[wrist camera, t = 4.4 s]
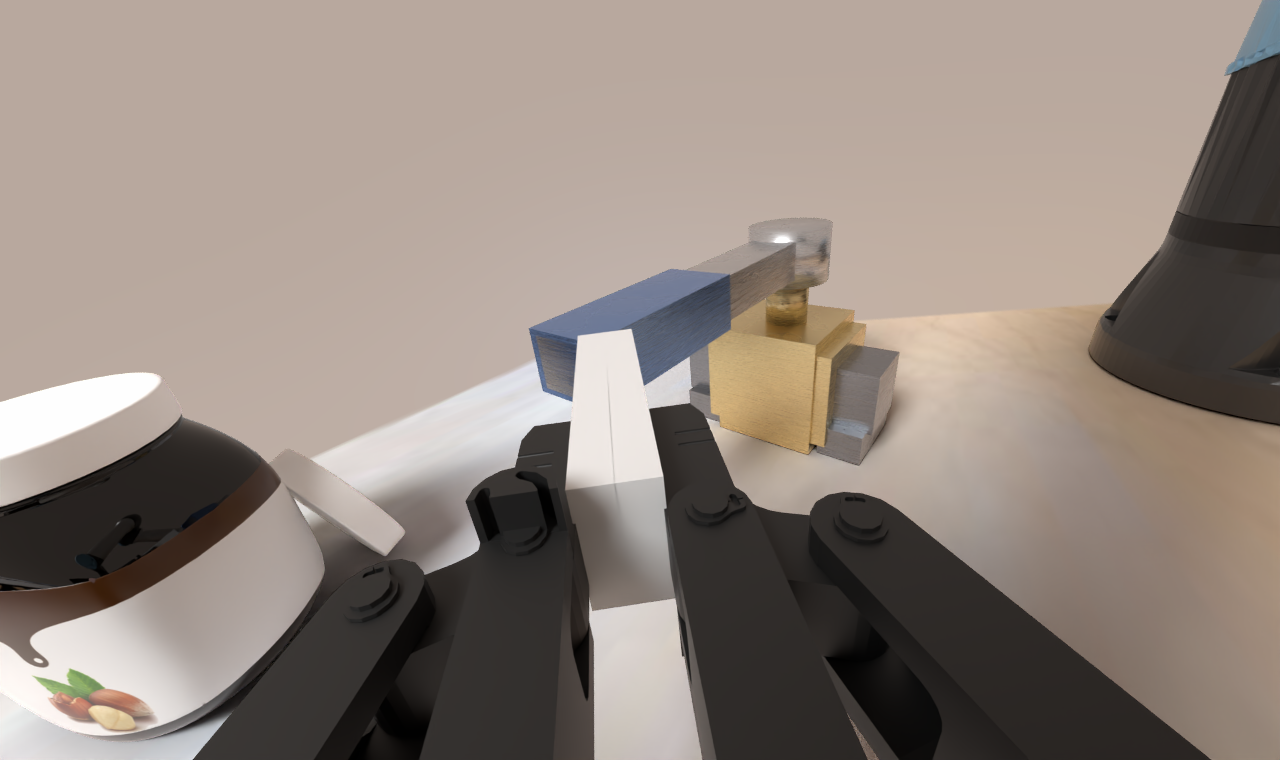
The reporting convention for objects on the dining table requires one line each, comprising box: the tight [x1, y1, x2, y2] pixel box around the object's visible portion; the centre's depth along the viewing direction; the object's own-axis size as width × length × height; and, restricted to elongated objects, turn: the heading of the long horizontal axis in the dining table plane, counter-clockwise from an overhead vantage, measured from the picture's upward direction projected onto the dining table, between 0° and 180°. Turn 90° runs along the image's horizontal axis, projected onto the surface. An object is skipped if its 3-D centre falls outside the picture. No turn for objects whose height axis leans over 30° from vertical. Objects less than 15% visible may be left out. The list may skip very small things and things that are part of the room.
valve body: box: [689, 288, 899, 465], centre depth 29 cm, size 12×6×9 cm, turn 50°
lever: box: [529, 218, 833, 401], centre depth 22 cm, size 4×19×3 cm, turn 140°
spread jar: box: [0, 373, 405, 742], centre depth 19 cm, size 12×11×12 cm
